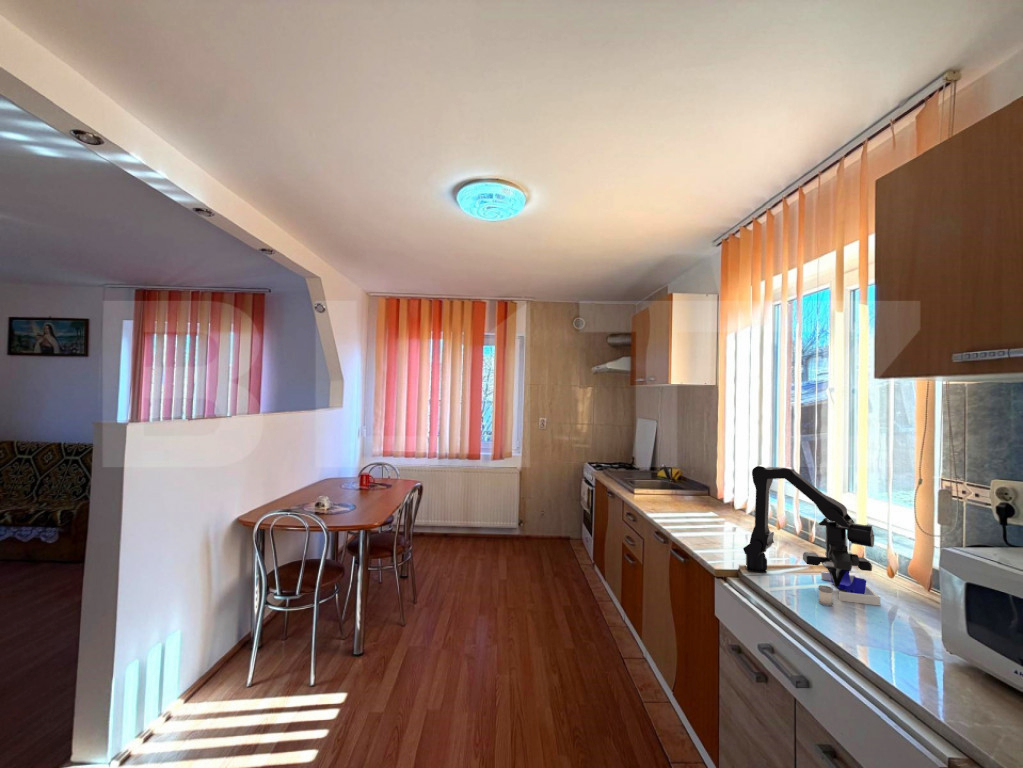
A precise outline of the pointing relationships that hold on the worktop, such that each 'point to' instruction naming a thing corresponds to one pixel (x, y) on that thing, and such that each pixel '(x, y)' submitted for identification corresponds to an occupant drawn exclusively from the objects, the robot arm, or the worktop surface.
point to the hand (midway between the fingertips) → (836, 586)
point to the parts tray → (853, 597)
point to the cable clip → (852, 584)
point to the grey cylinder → (825, 595)
